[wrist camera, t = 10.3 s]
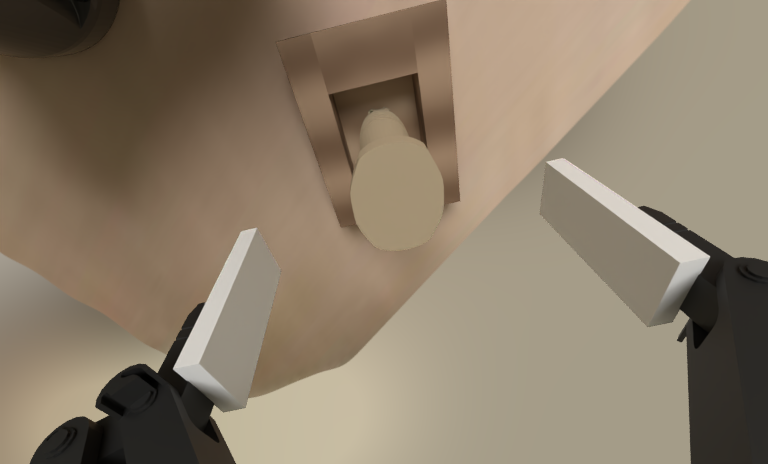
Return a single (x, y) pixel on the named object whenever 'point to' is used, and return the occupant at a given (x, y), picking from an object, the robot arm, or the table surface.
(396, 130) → the handle
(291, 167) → the table surface
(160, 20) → the table surface
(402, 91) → the slot block
